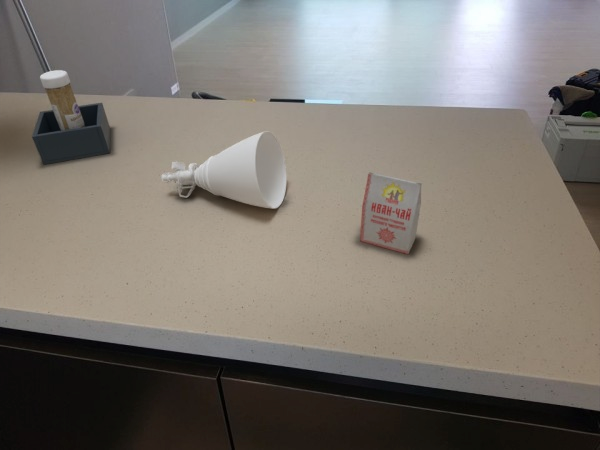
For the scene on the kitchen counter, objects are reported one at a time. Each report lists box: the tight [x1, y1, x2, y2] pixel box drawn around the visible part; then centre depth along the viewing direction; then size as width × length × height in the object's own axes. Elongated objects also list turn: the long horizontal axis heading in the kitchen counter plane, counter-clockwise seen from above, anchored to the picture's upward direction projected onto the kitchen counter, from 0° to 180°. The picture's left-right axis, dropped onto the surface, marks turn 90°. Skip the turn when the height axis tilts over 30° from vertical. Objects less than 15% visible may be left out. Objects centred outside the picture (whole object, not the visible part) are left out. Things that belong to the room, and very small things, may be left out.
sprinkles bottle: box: [39, 69, 85, 131], centre depth 85 cm, size 5×5×13 cm
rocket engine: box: [160, 130, 288, 210], centre depth 71 cm, size 12×12×18 cm
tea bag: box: [359, 171, 422, 255], centre depth 60 cm, size 4×7×10 cm, turn 64°
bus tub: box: [31, 102, 111, 165], centre depth 87 cm, size 12×12×6 cm
